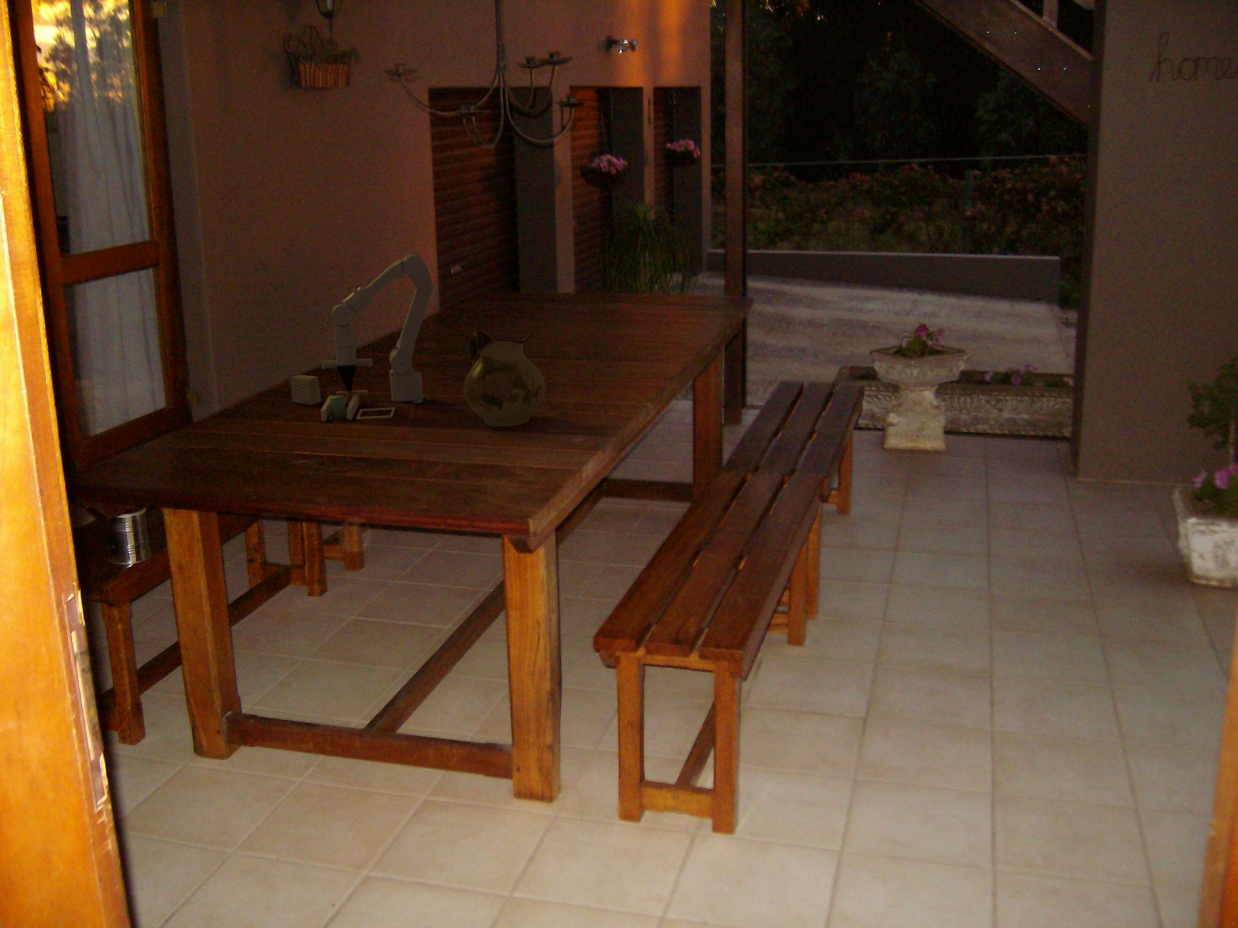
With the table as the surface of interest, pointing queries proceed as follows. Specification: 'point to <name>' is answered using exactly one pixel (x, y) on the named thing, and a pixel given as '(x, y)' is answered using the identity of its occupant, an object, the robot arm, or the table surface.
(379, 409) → the tray
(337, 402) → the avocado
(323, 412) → the beige h-shaped piece
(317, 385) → the medicine box
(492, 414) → the pitcher
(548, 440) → the table surface
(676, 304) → the table surface
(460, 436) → the table surface
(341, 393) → the lever
